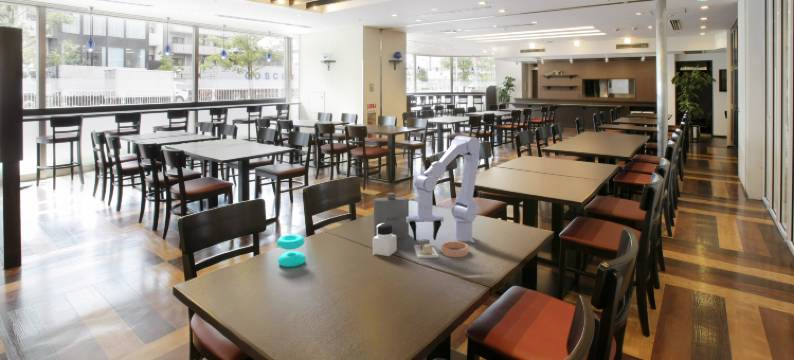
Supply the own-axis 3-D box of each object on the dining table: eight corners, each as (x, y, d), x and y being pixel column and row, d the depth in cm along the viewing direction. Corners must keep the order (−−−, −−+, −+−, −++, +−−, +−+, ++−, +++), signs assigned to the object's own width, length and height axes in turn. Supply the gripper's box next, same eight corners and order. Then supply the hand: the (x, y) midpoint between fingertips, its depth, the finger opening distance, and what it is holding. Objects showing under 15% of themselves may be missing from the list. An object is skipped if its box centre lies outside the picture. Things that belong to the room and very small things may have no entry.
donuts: (300, 242, 165) (273, 242, 166) (302, 268, 167) (275, 268, 168) (307, 233, 175) (280, 233, 175) (308, 258, 177) (282, 258, 178)
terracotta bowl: (439, 250, 184) (439, 241, 183) (464, 249, 185) (464, 240, 184) (444, 259, 174) (444, 250, 174) (470, 258, 175) (470, 249, 174)
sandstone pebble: (421, 253, 179) (421, 244, 178) (431, 252, 179) (431, 244, 178) (423, 256, 175) (423, 247, 175) (432, 256, 176) (432, 247, 175)
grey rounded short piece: (419, 247, 185) (419, 239, 184) (428, 247, 185) (428, 238, 184) (421, 251, 181) (421, 242, 180) (430, 250, 181) (430, 242, 181)
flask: (375, 241, 195) (374, 195, 191) (373, 237, 201) (372, 192, 196) (410, 239, 197) (409, 194, 193) (407, 235, 203) (407, 190, 199)
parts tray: (414, 248, 186) (414, 245, 186) (433, 248, 186) (433, 244, 186) (417, 260, 174) (417, 256, 174) (438, 259, 175) (438, 255, 174)
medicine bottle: (396, 252, 183) (396, 222, 180) (389, 258, 176) (388, 228, 174) (380, 249, 186) (380, 220, 183) (372, 255, 179) (371, 225, 177)
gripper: (407, 209, 175) (407, 243, 178) (445, 208, 176) (444, 242, 179) (405, 204, 182) (405, 237, 185) (442, 203, 183) (441, 236, 186)
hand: (424, 239), depth 182 cm, fingers open, 7 cm apart
